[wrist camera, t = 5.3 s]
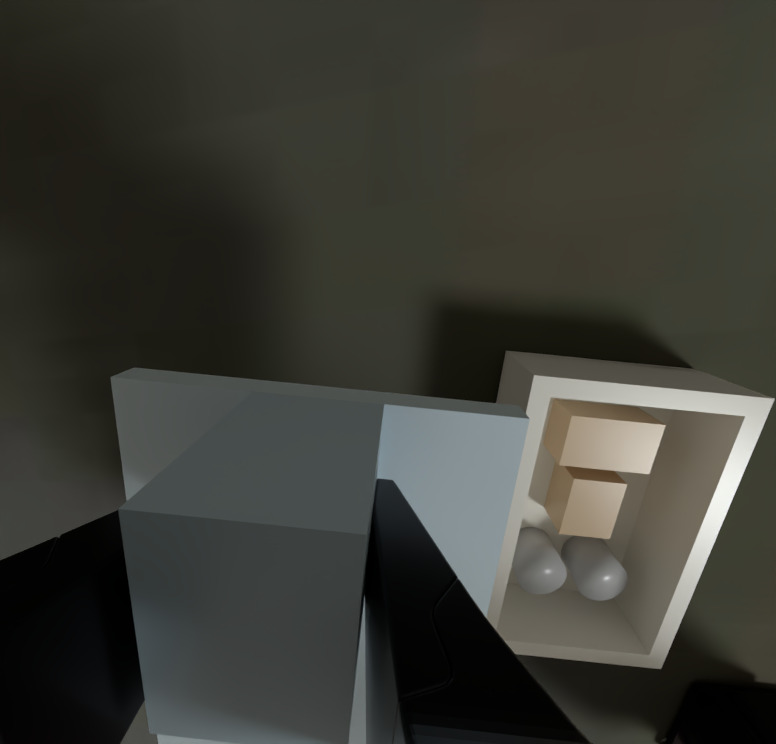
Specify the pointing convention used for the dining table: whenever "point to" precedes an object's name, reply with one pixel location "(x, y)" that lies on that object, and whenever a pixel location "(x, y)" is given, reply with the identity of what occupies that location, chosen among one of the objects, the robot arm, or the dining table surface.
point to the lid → (286, 539)
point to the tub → (615, 502)
